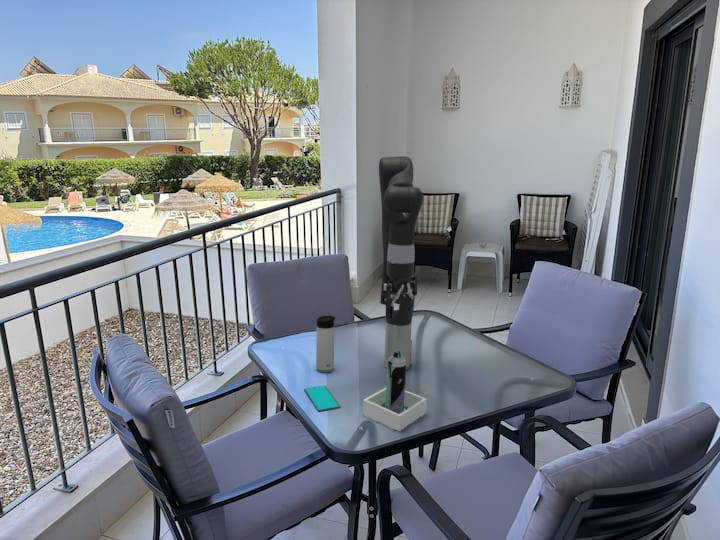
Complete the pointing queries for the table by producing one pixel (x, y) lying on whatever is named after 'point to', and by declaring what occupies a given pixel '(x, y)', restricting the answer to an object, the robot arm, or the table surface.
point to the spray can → (395, 383)
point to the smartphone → (322, 398)
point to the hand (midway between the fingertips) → (398, 314)
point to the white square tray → (388, 417)
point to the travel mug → (325, 344)
